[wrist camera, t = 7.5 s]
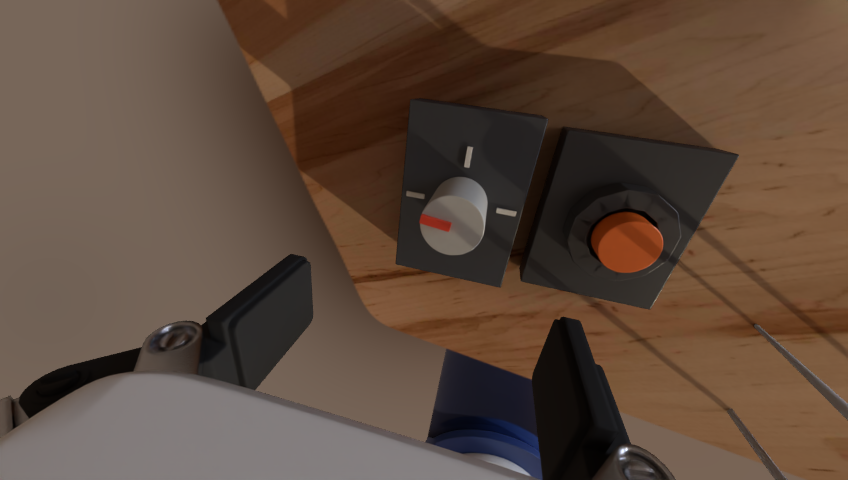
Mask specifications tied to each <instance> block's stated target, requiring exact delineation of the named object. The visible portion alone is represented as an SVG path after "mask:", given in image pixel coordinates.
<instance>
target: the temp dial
mask: <svg viewBox="0 0 848 480" xmlns="http://www.w3.org/2000/svg"><path fill="white" fill-rule="evenodd" d="M486 213H487V197H486V194H485V191H484V190H483V188H482V187H481V186H480V185H479V184H478V183H477V182H475V181H474V180H472V179H469V178H466V177H453V178H450V179H448V180H446V181H444V182H443V183H442V184H441V185H440V186H439V187H438V188H437V190H436V191H435V193H434V194H433V196H432V197H431V199H430V201H429V202H428V204H427V205H426V207H425V208H424V210H423V212H422V214H421V217H420V221H419V223H420V229H421V233H422V235H423V237H424V239H425V241H426V242H427V243H428V244H429V245H430V246H431V247H432V248H433V249H435V250H436V251H438V252H440V253H443V254H447V255H461V254H465V253H467V252H469V251H471V250H473V249H474V248H475V247H476V246H477V245H478V244H479V243H480V241H481V240H482V237H483V235H484V230H485V222H486Z"/></svg>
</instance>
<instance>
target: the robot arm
mask: <svg viewBox="0 0 848 480" xmlns="http://www.w3.org/2000/svg"><path fill="white" fill-rule="evenodd" d="M311 284H312V283H311V265H310V262H308V261H307V259H306V258H305V257H302V256H298V255H294V254H290V255H288V256H287V257H286V258H284V259H283V260H282V261H280V262H279V263H278V264H276V265H275V266H274V267H273V268H271V269H270V270H269V271H267V272H266V273H265V274H263V275H262V276H261V277H259V278H258V279H257V280H256V281H254V282H253V283H251V284H250V285H249V286H247V287H246V288H245V289H243V290H242V291H241V292H240V293H238V294H237V295H236V296H234V297H233V298H232V299H230V300H229V301H228V302H226V303H225V304H224V305H222V306H221V307H220V308H218V309H217V310H216V311H214V312H213V313H212V314H211V315H209V316H208V317H207V318H206V322H205V323H204V324H202V325H200V324H199V323H196V322H194V321H179V322H175V323H171V324H168V325H165V326H163V327H161V328H159V329H157V330H156V331H154V332H153V333H152V334H150V335H149V336H148V337H147V338H146V339H145V341H144V343H143V346H142V347H141V348H137V349H133V350H129V351H125V352H121V353H117V354H113V355H109V356H105V357H101V358H97V359H93V360H89V361H85V362H81V363H77V364H74V365H69V366H66V367H63V368H60V369H57V370H55V371H52V372H50V373H48V374H46V375H44V376H42V377H41V378H39V379H38V380H36V381H34V382H33V383H32V384H31V385H30V386H28V387H27V388H26V389H25V390H24V392H23V393H22V394H21V396H20V397H19V398H17V399H14V400H13V398H12V397H11V396H8V397H6V398H3V399H1V400H0V480H540V479H537V478H534V477H531V476H530V474H529V473H527V472H526V471H525V470H524V469H523V468H521V467H520V466H518V465H516V464H515V463H513V462H511V461H509V460H506V459H504V458H501V457H498V456H494V455H490V454H484V453H464V454H461V453H458V452H455V451H451V450H448V449H445V448H442V447H439V446H435V445H432V444H429V443H426V442H423V441H419V440H416V439H413V438H410V437H407V436H403V435H400V434H397V433H394V432H390V431H387V430H384V429H381V428H377V427H374V426H371V425H367V424H364V423H361V422H358V421H355V420H351V419H348V418H345V417H342V416H338V415H335V414H332V413H329V412H325V411H321V410H319V409H315V408H312V407H308V406H305V405H302V404H299V403H295V402H292V401H289V400H285V399H282V398H279V397H275V396H272V395H269V394H266V393H262V392H259V391H255V389H256V388H257V387H258V386H259V385H260V383H261V382H262V381H263V380H264V379H265V378H266V376H267V375H268V374H269V373H270V372H271V370H272V369H273V368H274V367H275V365H276V364H277V363H278V362H279V361H280V359H281V358H282V357H283V355H285V353H286V352H287V351H288V350H289V348H290V347H291V346H292V345H293V344H294V342H295V341H296V340H297V339H298V338H299V336H300V335H301V334H302V333H303V332H304V331H305V329H306V328H307V327H308V326H309V324H310V323H311V321H312V319H313V304H312V285H311ZM532 387H533V396H534V405H535V414H536V424H537V433H538V442H539V451H540V460H541V470H542V479H543V480H676V479H675V478H674V476H673V475H672V473H671V472H670V471H669V469H668V468H667V467H666V466H665V465H664V464H663V463H662V462H661V461H660V460H659V459H658V458H657V457H655V456H654V455H653V454H651V453H650V452H648V451H647V450H645V449H643V448H641V447H639V446H636V445H632V444H631V443H630V440H629V437H628V435H627V432H626V429H625V427H624V424H623V421H622V419H621V416H620V413H619V411H618V408H617V405H616V402H615V400H614V397H613V394H612V392H611V389H610V386H609V384H608V381H607V378H606V376H605V373H604V371H603V369H602V367H601V366H600V365H597V364H595V362H594V359H593V356H592V353H591V350H590V347H589V344H588V342H587V339H586V336H585V333H584V330H583V327H582V324H581V322H580V321H579V320H575V319H571V318H566V317H561V318H560V320H557V319H555V320H554V322H553V324H552V327H551V329H550V332H549V334H548V337H547V339H546V342H545V344H544V347H543V349H542V352H541V354H540V357H539V359H538V362H537V364H536V367H535V369H534V372H533V376H532Z"/></svg>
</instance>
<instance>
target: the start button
mask: <svg viewBox="0 0 848 480" xmlns="http://www.w3.org/2000/svg"><path fill="white" fill-rule="evenodd" d="M591 245H592V247H593V249H594V251H595V253H596V254H597V256H598V258H599V260H600V261H601V262H602V264H603V265H604V266H606V267H607V268H609V269H611V270H613V271H616V272H621V273H631V272H636V271H639V270H642V269H644V268H646V267H648V266H650V265H651V264H652V263H654V262H655V261H656V260H657V258H658V257H659V256H660V254H661V252H662V249H663V238H662V235H661V233H660V232H659V230H658V229H657V228H656V227H654V226H653V225H652V224H651V223H650V222H649V221H648V220H647V219H645V218H644V217H643V216H641V215H639V214H637V213H633V212H618V213H614V214H611V215H609V216H607V217H605V218H604V219H602V220H601V221H600V222H599V223H598V224H597V225H596V226H595V228H594V230H593V232H592V235H591Z"/></svg>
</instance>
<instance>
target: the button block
mask: <svg viewBox="0 0 848 480" xmlns="http://www.w3.org/2000/svg"><path fill="white" fill-rule="evenodd" d="M738 157H739V155H738V154H734V153H731V152H727V151H723V150H719V149H715V148H708V147H701V146H694V145H687V144H680V143H673V142H667V141H660V140H653V139H646V138H639V137H632V136H625V135H619V134H612V133H605V132H598V131H591V130H584V129H577V128H570V127H563V128H562V131H561V134H560V137H559V140H558V144H557V147H556V150H555V153H554V157H553V160H552V163H551V166H550V170H549V173H548V176H547V179H546V183H545V186H544V189H543V192H542V196H541V199H540V202H539V206H538V209H537V212H536V215H535V219H534V222H533V225H532V228H531V232H530V235H529V238H528V241H527V245H526V248H525V251H524V254H523V258H522V261H521V264H520V267H519V269H520V279H521V281H522V282H526V283H531V284H535V285H540V286H544V287H549V288H554V289H558V290H563V291H567V292H572V293H576V294H581V295H586V296H590V297H595V298H599V299H604V300H608V301H613V302H618V303H622V304H627V305H631V306H636V307H640V308H645V309H651V307H652V306H653V304H654V302H655V300H656V299H657V297H658V295H659V293H660V292H661V290H662V288H663V287H664V285H665V283H666V281H667V280H668V278H669V276H670V274H671V273H672V271H673V269H674V267H675V266H676V264H677V262H678V261H679V259H680V257H681V255H682V254H683V252H684V250H685V248H686V247H687V245H688V243H689V241H690V240H691V238H692V236H693V235H694V233H695V231H696V229H697V228H698V226H699V224H700V222H701V221H702V219H703V217H704V215H705V214H706V212H707V210H708V209H709V207H710V205H711V203H712V202H713V200H714V198H715V196H716V195H717V193H718V191H719V189H720V188H721V186H722V184H723V183H724V181H725V179H726V177H727V176H728V174H729V172H730V170H731V169H732V167H733V165H734V163H735V162H736V160H737V158H738ZM618 212H633V213H637V214H639V215H641V216H643V217H644V218H645V219H647V220H648V221H649V222H650V223H651V224H652V225H653V226H654V227H656V228H657V229H658V230H659V232H660V233H661V235H662V238H663V249H662V252H661V254H660V256H659V257H658V258H657V260H656V261H655V262H654V263H652V264H651V265H650V266H648V267H646V268H644V269H642V270H639V271H636V272H631V273H621V272H616V271H613V270H611V269H609V268H607V267H606V266H604V265H603V264H602V262H601V261H600V260H599V258H598V256H597V254H596V253H595V251H594V249H593V247H592V245H591V235H592V232H593V230H594V228H595V226H596V225H597V224H598V223H599V222H600V221H601V220H602V219H604V218H605V217H607V216H609V215H611V214H614V213H618Z"/></svg>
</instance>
